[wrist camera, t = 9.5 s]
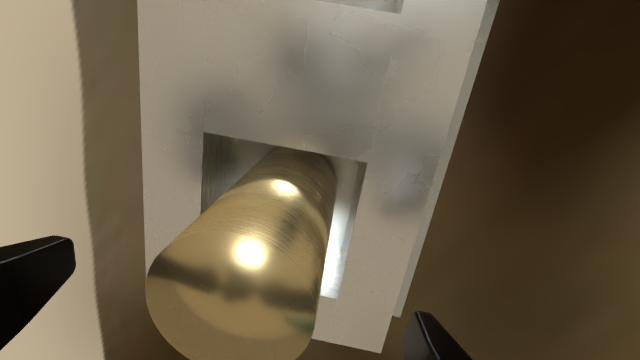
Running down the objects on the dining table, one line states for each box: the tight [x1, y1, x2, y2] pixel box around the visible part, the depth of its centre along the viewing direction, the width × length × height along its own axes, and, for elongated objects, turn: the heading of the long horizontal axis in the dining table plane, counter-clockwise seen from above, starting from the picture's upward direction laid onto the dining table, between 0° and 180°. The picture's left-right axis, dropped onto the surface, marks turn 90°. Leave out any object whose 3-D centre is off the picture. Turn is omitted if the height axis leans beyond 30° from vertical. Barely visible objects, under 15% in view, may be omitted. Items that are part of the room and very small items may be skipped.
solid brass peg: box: [145, 147, 337, 360], centre depth 11 cm, size 4×4×8 cm
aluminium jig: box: [137, 0, 500, 353], centre depth 12 cm, size 13×22×4 cm, turn 171°
